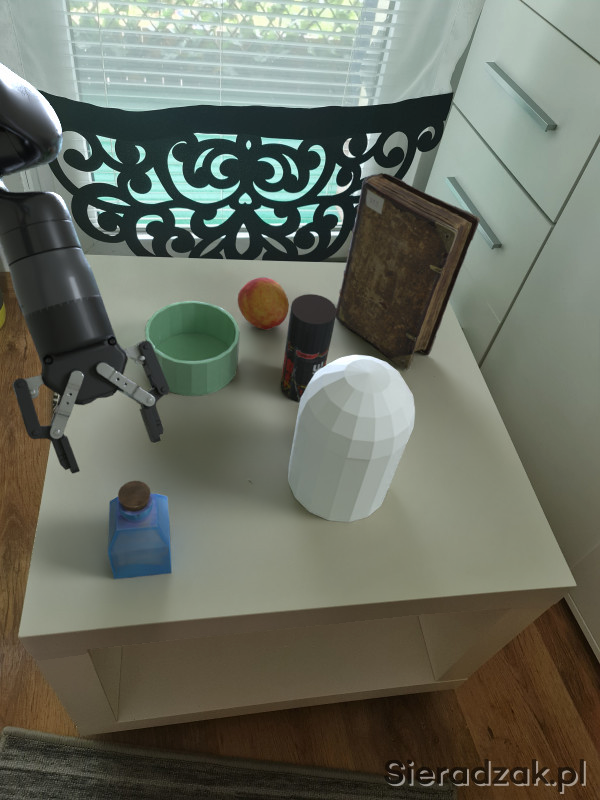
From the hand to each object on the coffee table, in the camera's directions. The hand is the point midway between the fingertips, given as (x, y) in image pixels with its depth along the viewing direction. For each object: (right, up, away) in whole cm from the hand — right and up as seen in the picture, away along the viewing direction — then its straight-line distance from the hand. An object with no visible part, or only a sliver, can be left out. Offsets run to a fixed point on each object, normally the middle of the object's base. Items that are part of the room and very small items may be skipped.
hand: (117, 456), depth 63 cm
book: (+32, +16, +37) cm, 52 cm away
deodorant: (+19, +7, +28) cm, 34 cm away
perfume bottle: (+1, -12, +8) cm, 14 cm away
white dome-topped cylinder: (+24, -5, +18) cm, 30 cm away
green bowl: (+3, +11, +28) cm, 30 cm away
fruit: (+13, +18, +36) cm, 43 cm away
